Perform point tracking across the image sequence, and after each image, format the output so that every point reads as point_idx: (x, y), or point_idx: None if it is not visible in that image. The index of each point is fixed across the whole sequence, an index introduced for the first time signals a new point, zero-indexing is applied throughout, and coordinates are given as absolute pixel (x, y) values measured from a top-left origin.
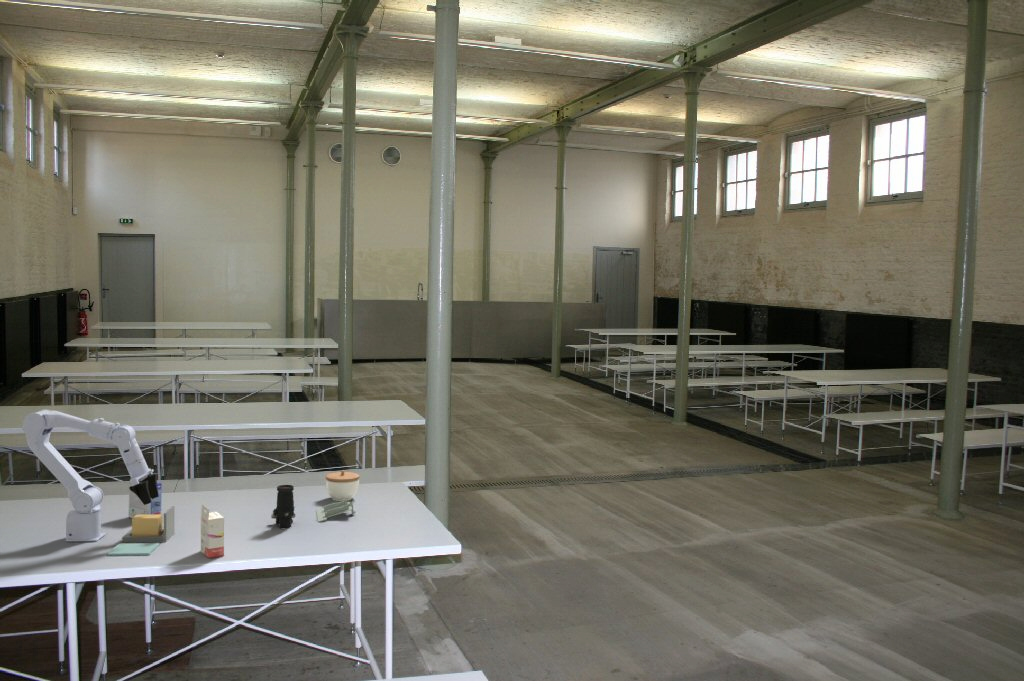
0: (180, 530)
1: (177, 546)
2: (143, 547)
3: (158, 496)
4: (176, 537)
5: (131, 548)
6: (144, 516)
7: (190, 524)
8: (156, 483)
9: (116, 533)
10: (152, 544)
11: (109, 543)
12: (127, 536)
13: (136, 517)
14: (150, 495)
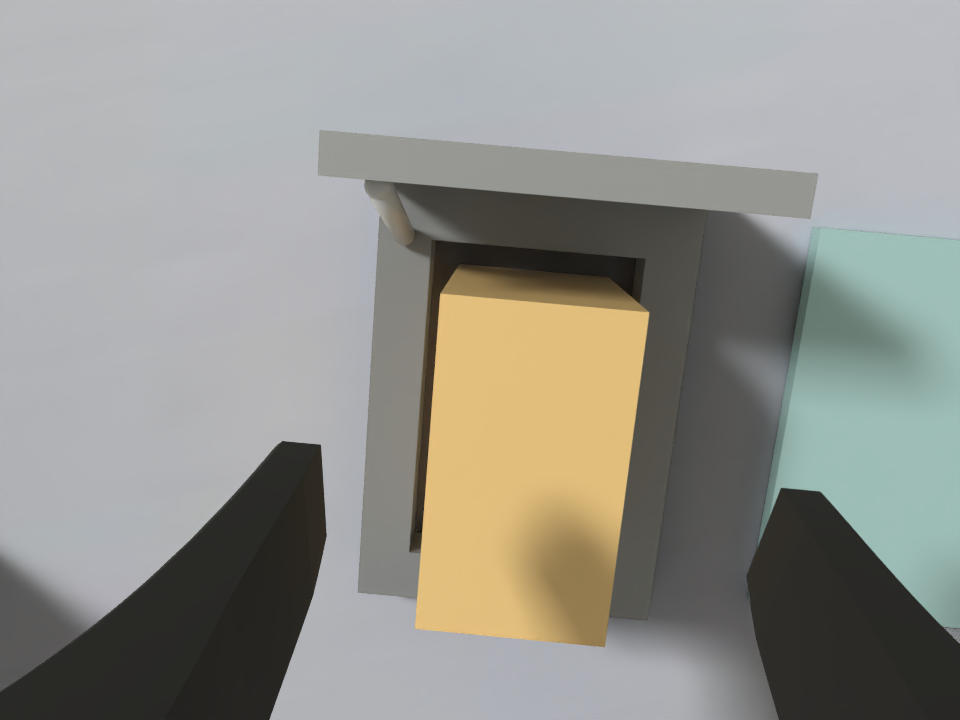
0: (274, 108)
1: (903, 21)
2: (946, 359)
3: (296, 443)
4: (548, 101)
5: (951, 465)
6: (524, 515)
7: (32, 38)
8: (120, 636)
9: (339, 699)
10: (858, 291)
11: (662, 689)
12: (625, 578)
13: (566, 603)
14: (304, 601)
